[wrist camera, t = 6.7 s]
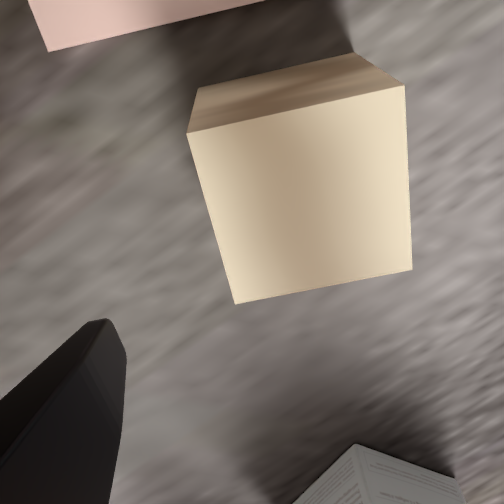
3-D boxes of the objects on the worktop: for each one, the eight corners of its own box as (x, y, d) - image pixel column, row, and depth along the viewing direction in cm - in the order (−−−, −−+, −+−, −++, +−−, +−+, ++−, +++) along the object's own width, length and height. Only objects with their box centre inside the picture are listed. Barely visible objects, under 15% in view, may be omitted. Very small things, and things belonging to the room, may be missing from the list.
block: (353, 51, 15) (404, 84, 11) (366, 195, 17) (412, 269, 13) (198, 87, 15) (186, 133, 11) (233, 223, 18) (235, 304, 13)
